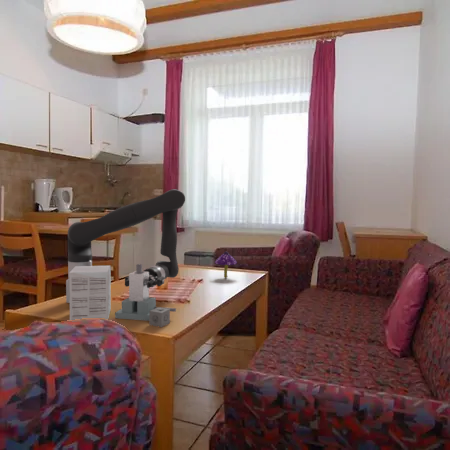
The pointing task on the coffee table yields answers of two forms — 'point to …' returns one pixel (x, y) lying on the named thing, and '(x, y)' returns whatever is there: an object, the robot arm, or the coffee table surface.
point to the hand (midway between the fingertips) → (137, 284)
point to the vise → (138, 306)
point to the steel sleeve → (138, 286)
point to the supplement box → (90, 292)
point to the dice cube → (159, 317)
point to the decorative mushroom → (226, 261)
